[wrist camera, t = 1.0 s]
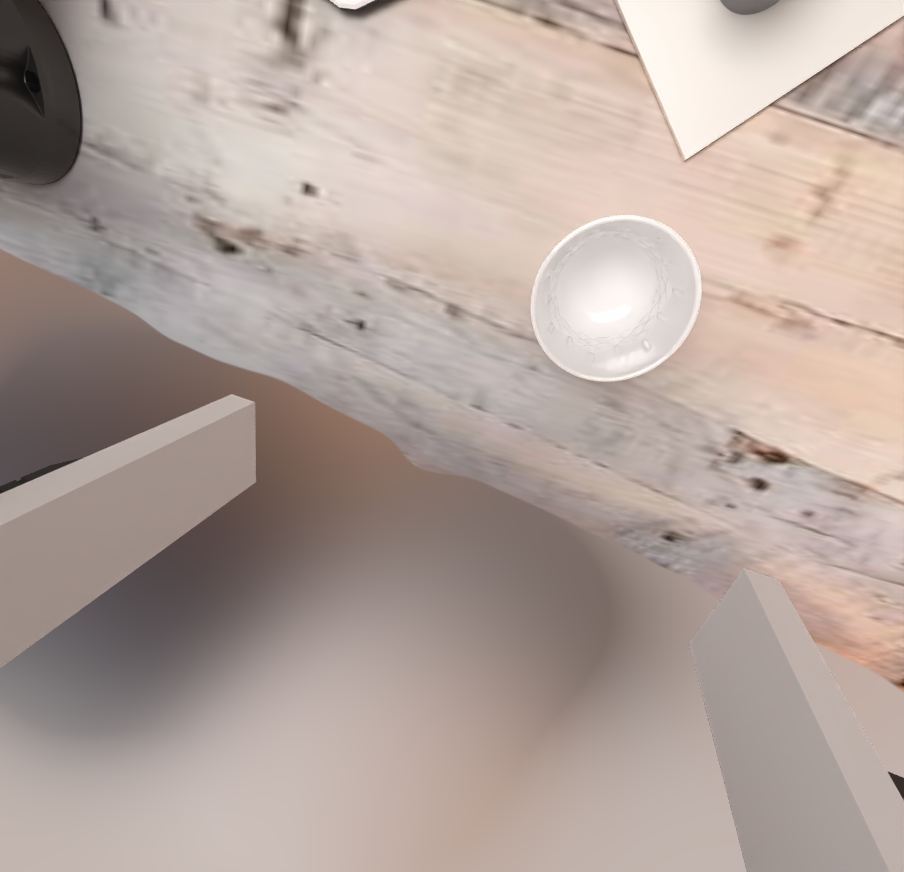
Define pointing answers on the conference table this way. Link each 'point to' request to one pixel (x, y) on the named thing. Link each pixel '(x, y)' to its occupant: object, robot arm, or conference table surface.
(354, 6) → the plate
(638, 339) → the white cup
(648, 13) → the lid
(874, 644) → the conference table surface
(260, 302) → the conference table surface
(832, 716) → the robot arm
